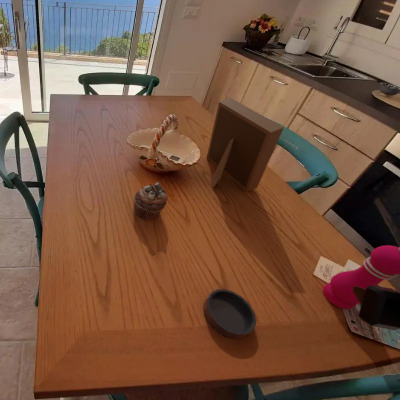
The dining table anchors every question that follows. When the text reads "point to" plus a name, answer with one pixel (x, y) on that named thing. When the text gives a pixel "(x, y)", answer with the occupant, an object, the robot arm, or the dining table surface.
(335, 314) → the dining table surface
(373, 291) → the robot arm
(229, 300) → the tray
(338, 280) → the pepper mill
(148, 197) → the cupcake
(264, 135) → the photo frame
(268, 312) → the dining table surface
